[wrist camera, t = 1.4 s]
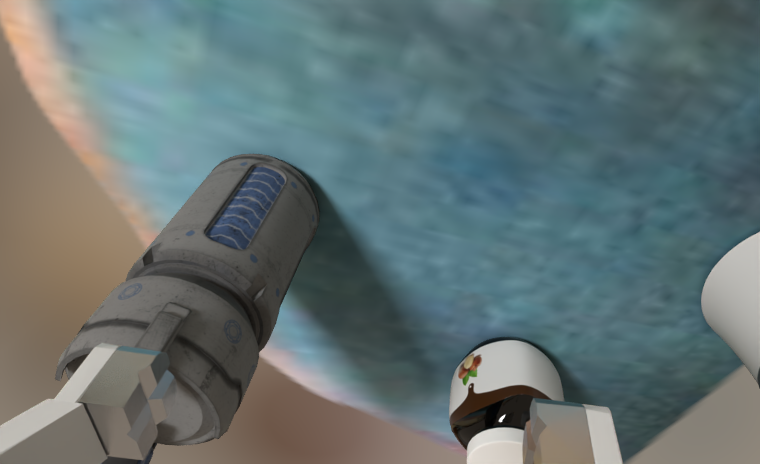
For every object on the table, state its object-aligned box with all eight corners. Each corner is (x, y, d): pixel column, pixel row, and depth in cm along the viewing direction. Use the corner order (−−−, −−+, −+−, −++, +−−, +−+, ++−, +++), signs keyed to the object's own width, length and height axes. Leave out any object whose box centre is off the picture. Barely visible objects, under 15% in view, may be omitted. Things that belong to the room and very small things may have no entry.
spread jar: (521, 317, 52) (529, 420, 43) (591, 384, 56) (612, 493, 47) (426, 367, 58) (415, 469, 49) (495, 425, 62) (497, 530, 52)
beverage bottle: (197, 238, 53) (19, 482, 33) (225, 120, 45) (16, 343, 25) (297, 278, 54) (184, 540, 34) (341, 169, 46) (229, 423, 26)
